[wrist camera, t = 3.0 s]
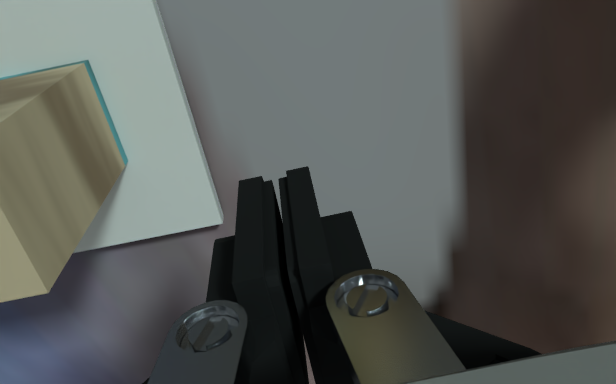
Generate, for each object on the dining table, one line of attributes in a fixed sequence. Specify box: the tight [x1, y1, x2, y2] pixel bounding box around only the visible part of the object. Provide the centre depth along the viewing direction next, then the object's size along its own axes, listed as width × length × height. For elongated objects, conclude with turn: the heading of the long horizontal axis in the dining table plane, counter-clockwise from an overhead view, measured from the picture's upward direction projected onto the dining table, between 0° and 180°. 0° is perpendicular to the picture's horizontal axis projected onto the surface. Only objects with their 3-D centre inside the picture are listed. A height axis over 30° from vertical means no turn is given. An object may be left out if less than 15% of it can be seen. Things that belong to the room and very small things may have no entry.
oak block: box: [0, 60, 128, 302], centre depth 19 cm, size 5×5×10 cm
